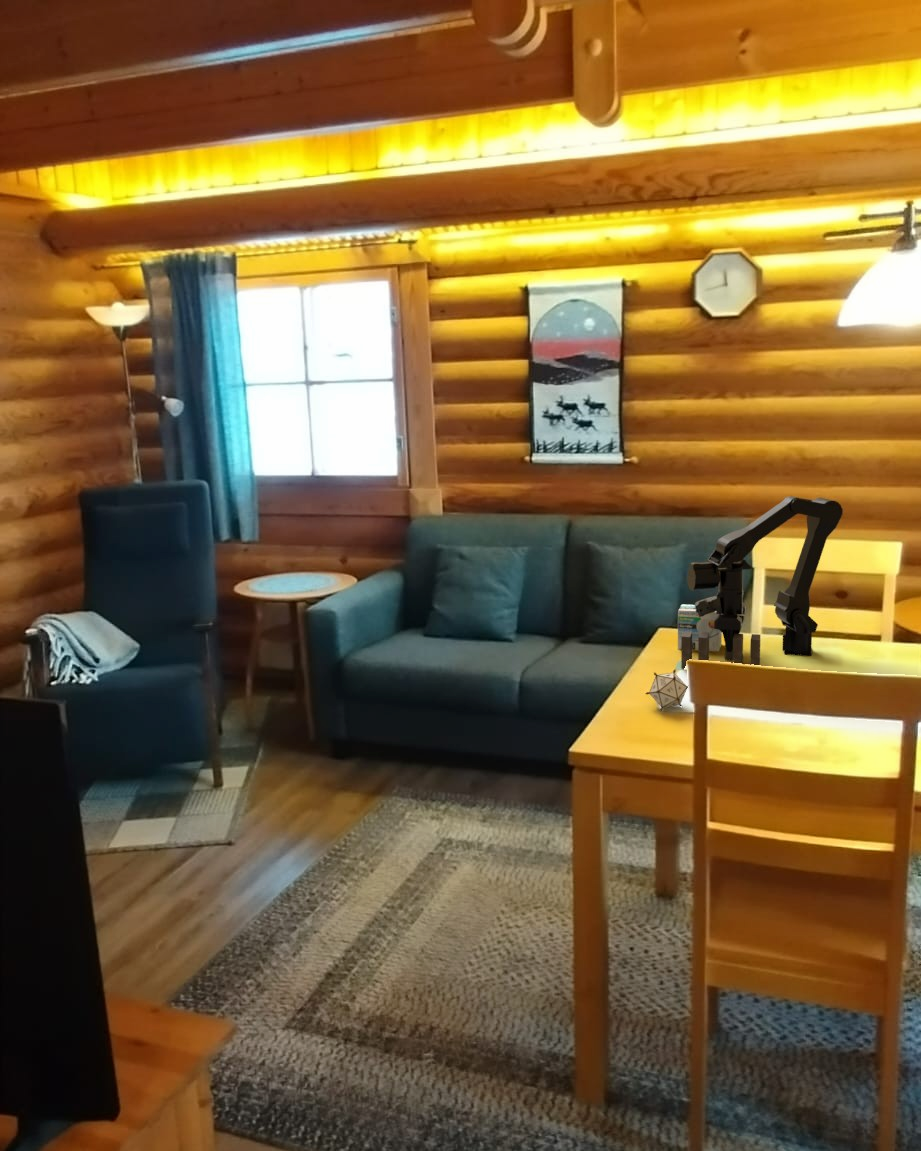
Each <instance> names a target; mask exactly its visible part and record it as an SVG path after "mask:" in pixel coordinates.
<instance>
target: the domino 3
mask: <svg viewBox="0 0 921 1151" xmlns="http://www.w3.org/2000/svg"><path fill="white" fill-rule="evenodd" d="M724 660H725V661H732V662H733V649H732V652H727V650H726V645H725V644H724Z"/></svg>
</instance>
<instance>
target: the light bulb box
mask: <svg viewBox="0 0 921 1151" xmlns="http://www.w3.org/2000/svg"><path fill="white" fill-rule="evenodd" d="M718 615H719V614H716V611H715V612H712V613H709V614H706V615H704V616H702V617H699V616H698V613H697V612H696V608H695V604H684V603H683V604H681V605H680V607H679V609H678V611H677V650H681V637H682V634H683V632H684V631H691V632H692V651H698V637H699V635H700V632H709V652H719V651H720V650H721V646H722V644H723V643H722V640H723V639H722V638H723V637H722V636H723V633H722V632H721V631H720V630H719V629H714V621H715V618H716V617H717V616H718Z"/></svg>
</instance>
